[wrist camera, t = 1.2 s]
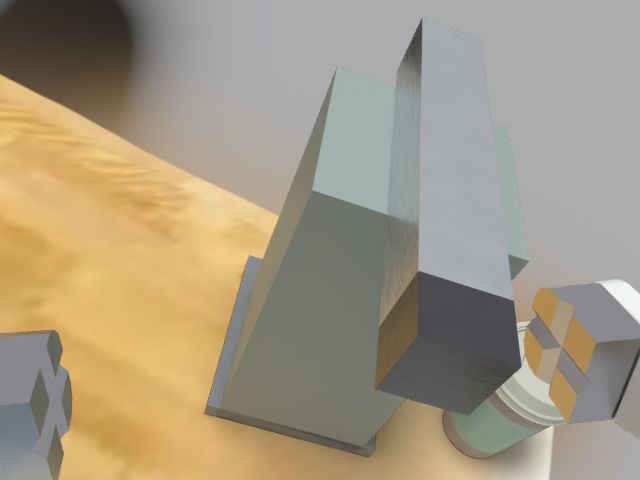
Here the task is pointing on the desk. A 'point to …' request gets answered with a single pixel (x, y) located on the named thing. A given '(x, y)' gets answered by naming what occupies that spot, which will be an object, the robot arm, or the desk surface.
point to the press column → (330, 282)
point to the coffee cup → (505, 413)
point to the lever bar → (445, 233)
